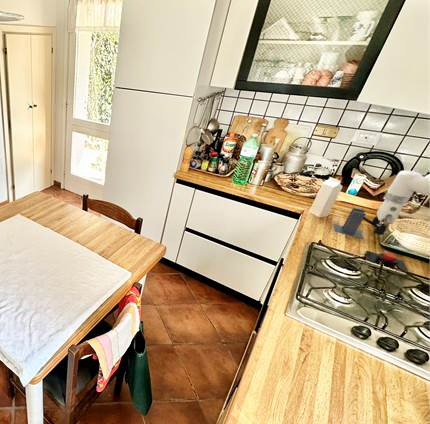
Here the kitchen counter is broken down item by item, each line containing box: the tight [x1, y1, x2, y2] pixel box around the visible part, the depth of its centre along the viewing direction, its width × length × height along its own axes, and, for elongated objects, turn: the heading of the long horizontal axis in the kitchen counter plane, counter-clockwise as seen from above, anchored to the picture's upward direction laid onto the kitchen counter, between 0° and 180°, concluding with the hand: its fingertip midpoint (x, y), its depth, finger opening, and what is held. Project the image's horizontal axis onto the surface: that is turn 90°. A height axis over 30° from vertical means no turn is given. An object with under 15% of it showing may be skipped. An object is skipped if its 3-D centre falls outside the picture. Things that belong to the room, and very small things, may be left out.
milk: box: [308, 176, 343, 218], centre depth 164 cm, size 6×6×22 cm
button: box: [383, 252, 397, 261], centre depth 129 cm, size 4×4×2 cm
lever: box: [356, 210, 379, 228], centre depth 147 cm, size 12×5×2 cm, turn 53°
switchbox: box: [363, 250, 409, 273], centre depth 130 cm, size 12×10×4 cm
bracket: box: [333, 207, 367, 240], centre depth 151 cm, size 11×9×13 cm
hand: (376, 229), depth 146 cm, fingers open, 9 cm apart
